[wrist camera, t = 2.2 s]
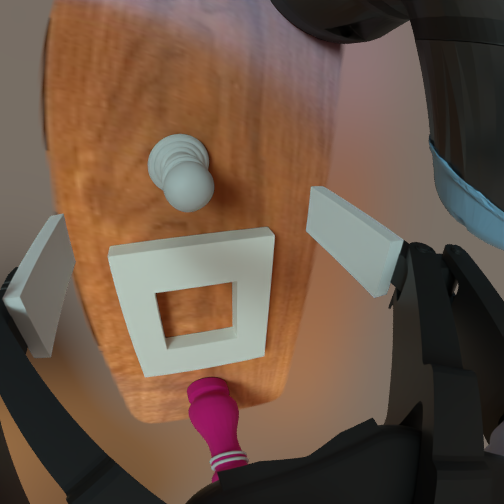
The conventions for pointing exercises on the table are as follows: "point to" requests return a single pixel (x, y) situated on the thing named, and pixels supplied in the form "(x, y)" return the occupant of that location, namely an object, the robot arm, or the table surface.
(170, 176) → the chess piece
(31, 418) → the robot arm
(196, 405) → the pepper mill
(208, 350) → the socket board
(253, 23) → the table surface
